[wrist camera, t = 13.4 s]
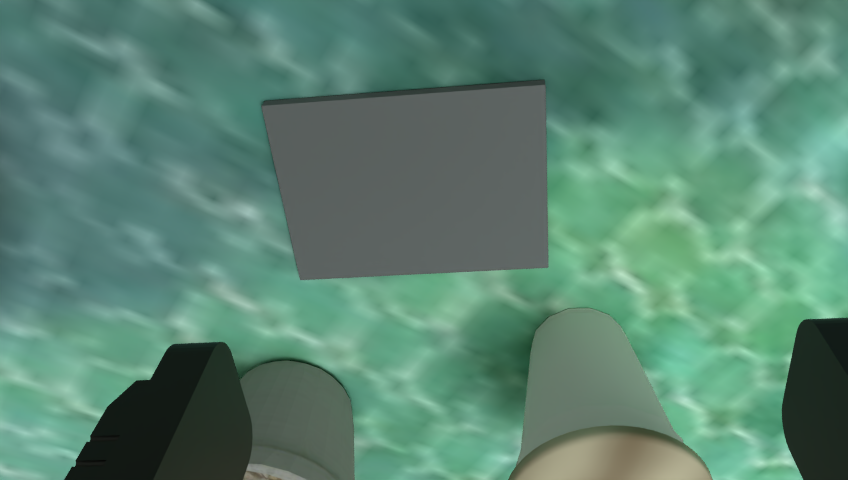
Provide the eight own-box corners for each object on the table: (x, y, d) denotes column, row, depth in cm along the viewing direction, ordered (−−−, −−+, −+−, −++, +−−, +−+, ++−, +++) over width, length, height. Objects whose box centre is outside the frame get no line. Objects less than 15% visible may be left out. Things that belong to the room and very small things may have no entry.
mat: (544, 79, 41) (545, 84, 41) (547, 260, 48) (548, 267, 47) (264, 100, 43) (261, 106, 42) (302, 273, 49) (300, 280, 48)
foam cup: (570, 264, 48) (599, 409, 37) (677, 332, 50) (735, 488, 39) (482, 356, 52) (484, 510, 41) (584, 415, 54) (612, 576, 43)
